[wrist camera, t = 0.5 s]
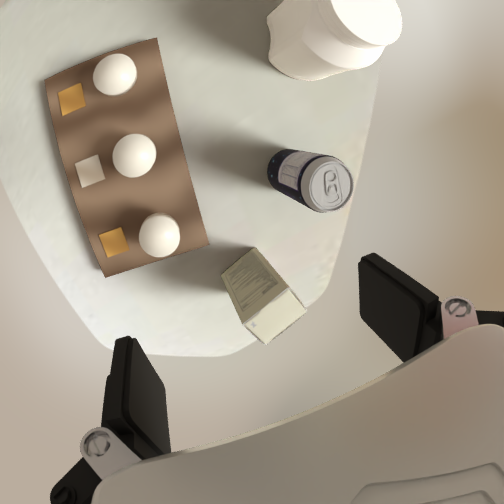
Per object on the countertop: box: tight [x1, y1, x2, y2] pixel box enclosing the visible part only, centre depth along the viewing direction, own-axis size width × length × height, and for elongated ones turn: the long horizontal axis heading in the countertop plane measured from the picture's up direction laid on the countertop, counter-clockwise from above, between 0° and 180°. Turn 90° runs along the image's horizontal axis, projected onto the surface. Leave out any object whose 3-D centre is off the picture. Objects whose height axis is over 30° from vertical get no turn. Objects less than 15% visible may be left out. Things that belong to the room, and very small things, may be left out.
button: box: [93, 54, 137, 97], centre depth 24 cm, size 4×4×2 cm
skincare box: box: [221, 247, 307, 345], centre depth 36 cm, size 6×4×12 cm
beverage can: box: [267, 149, 354, 212], centre depth 32 cm, size 6×6×12 cm
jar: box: [267, 0, 402, 81], centre depth 25 cm, size 12×10×15 cm
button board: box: [45, 38, 209, 278], centre depth 31 cm, size 26×14×2 cm, turn 13°
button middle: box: [113, 134, 156, 177], centre depth 28 cm, size 4×4×2 cm
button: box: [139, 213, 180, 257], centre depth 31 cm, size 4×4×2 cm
